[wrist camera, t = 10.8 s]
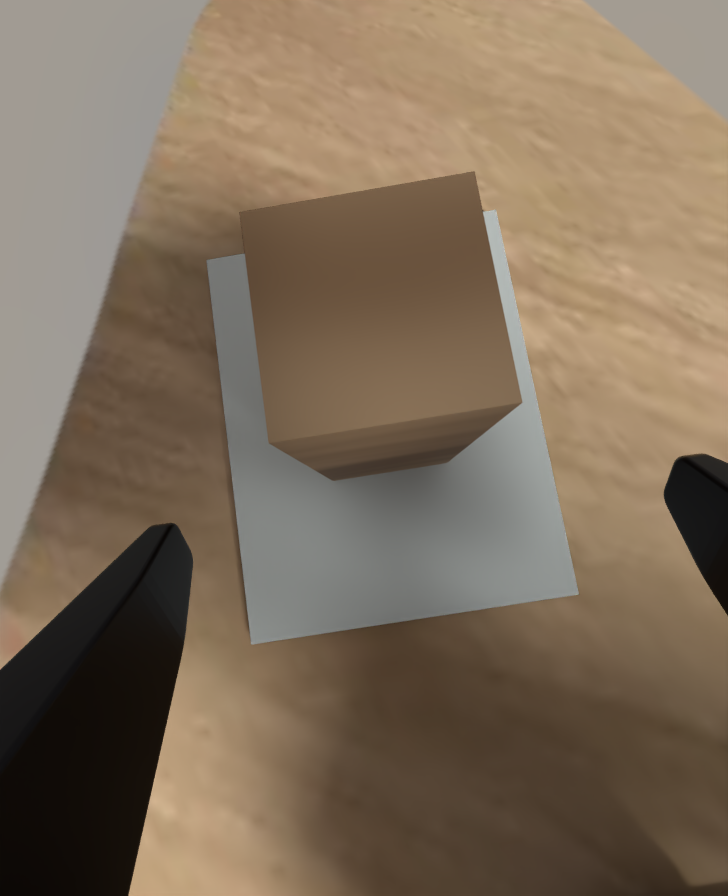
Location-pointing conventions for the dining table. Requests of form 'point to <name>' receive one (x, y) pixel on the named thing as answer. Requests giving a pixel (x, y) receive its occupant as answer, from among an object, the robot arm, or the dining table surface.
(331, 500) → the mat
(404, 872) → the dining table surface
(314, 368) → the walnut block
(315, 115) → the dining table surface
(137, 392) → the dining table surface
